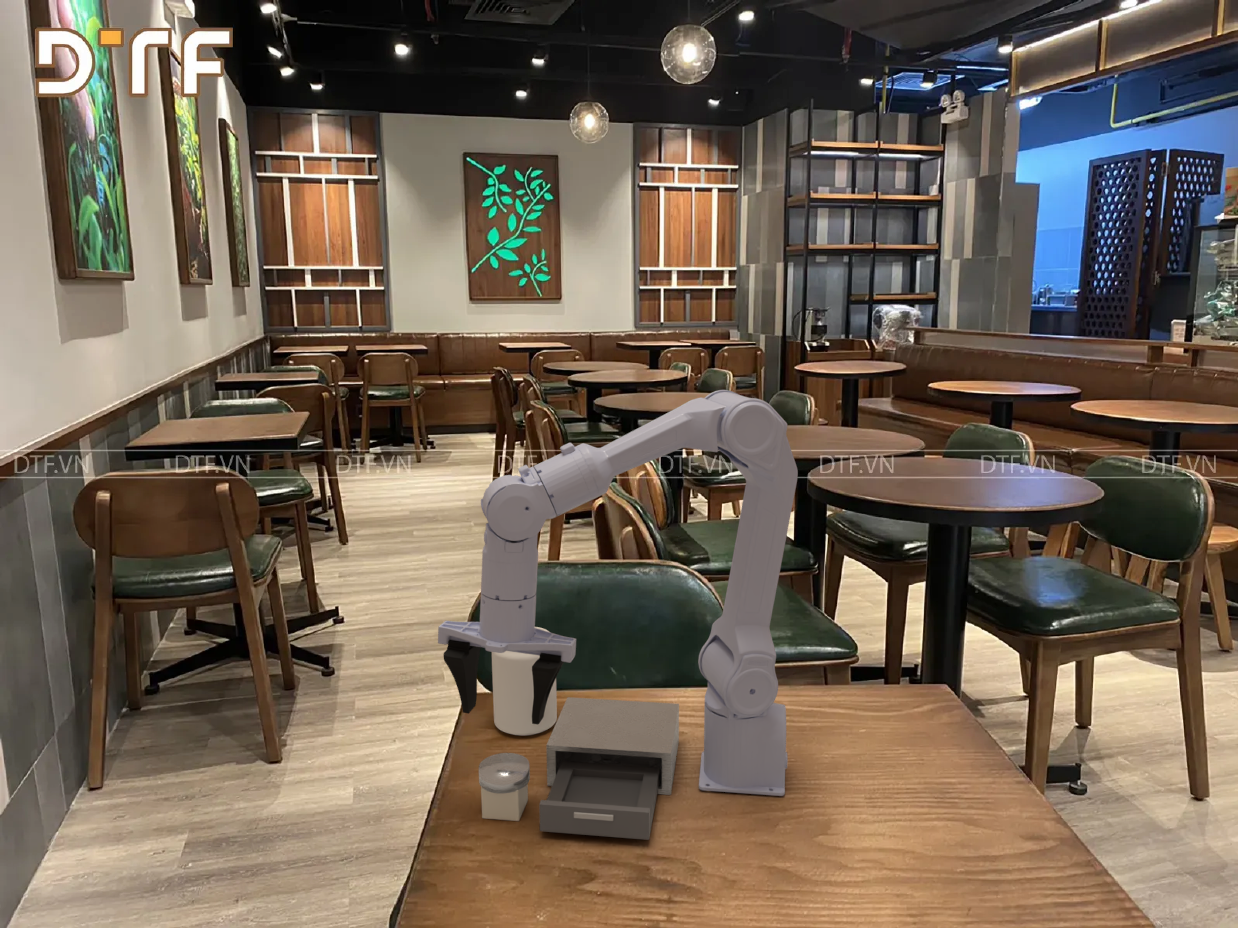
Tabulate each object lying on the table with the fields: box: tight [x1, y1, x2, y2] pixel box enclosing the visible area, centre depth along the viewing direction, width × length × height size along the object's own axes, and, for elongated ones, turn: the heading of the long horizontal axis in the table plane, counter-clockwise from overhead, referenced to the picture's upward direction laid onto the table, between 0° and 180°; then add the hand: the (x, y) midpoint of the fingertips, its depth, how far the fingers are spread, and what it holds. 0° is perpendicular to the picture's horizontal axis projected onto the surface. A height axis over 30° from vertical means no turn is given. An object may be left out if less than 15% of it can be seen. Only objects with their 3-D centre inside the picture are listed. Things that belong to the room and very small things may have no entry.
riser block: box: [480, 783, 529, 822], centre depth 94 cm, size 4×4×4 cm
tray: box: [538, 761, 660, 841], centre depth 93 cm, size 11×11×3 cm
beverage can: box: [491, 626, 558, 737], centre depth 112 cm, size 8×8×12 cm
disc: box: [478, 752, 531, 793], centre depth 94 cm, size 5×5×2 cm
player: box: [545, 697, 680, 796], centre depth 103 cm, size 14×12×5 cm
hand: (503, 714), depth 93 cm, fingers open, 7 cm apart
